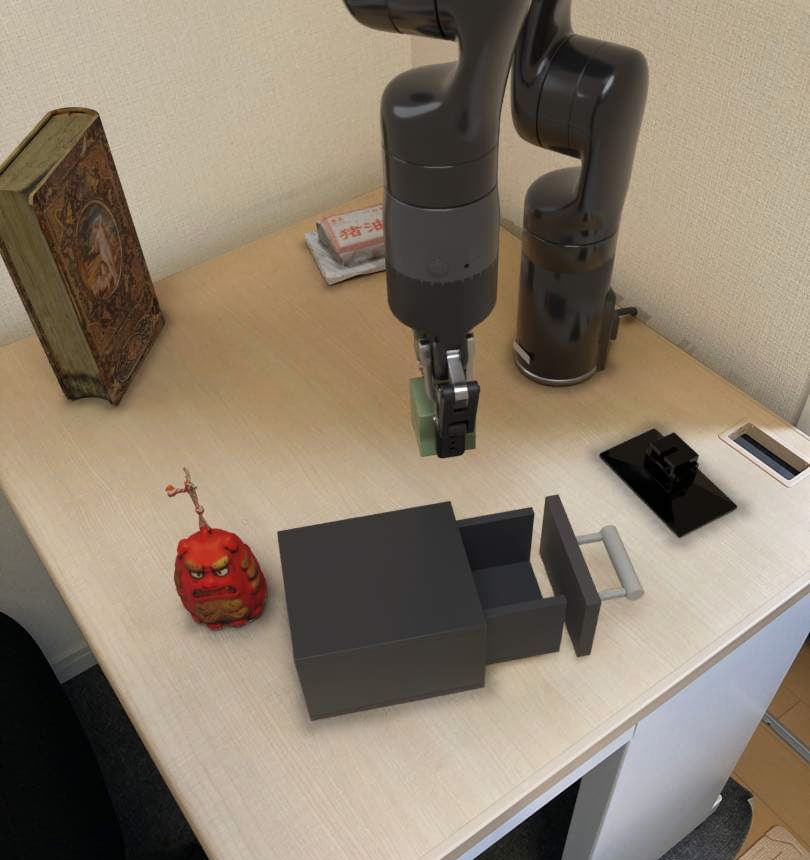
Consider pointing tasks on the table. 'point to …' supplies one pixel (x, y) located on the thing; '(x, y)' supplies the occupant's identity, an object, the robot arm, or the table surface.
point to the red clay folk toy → (217, 573)
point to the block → (428, 419)
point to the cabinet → (382, 610)
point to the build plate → (668, 481)
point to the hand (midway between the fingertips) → (443, 431)
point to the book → (77, 255)
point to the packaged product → (349, 244)
